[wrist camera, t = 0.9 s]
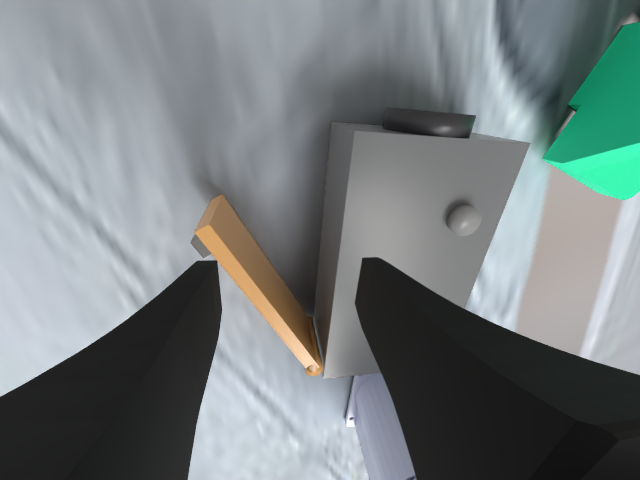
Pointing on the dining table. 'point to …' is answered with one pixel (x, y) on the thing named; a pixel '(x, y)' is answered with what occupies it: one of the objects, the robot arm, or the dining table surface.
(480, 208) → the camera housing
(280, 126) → the dining table surface
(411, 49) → the dining table surface
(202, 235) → the tan piece
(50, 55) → the dining table surface
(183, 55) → the dining table surface
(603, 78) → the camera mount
